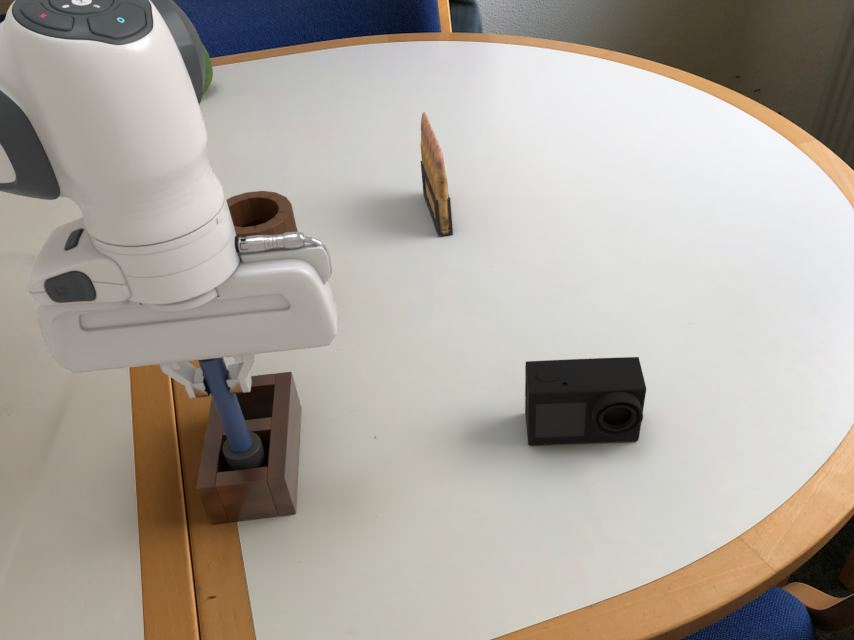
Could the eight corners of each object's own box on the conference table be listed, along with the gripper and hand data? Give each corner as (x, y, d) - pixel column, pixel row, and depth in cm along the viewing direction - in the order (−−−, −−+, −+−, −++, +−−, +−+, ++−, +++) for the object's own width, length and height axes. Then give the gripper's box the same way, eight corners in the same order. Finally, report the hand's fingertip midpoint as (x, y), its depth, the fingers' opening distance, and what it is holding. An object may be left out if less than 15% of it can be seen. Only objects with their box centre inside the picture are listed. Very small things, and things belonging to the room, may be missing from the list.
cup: (235, 328, 87) (206, 237, 79) (242, 283, 93) (216, 194, 85) (310, 320, 88) (289, 229, 80) (312, 276, 94) (292, 187, 86)
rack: (212, 524, 68) (195, 488, 65) (227, 416, 78) (214, 379, 74) (296, 514, 69) (284, 478, 65) (301, 407, 78) (291, 371, 75)
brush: (236, 501, 70) (184, 370, 59) (239, 473, 72) (190, 342, 61) (272, 497, 70) (228, 365, 59) (275, 469, 72) (232, 337, 61)
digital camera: (527, 456, 73) (528, 403, 68) (524, 412, 77) (524, 360, 72) (641, 451, 73) (649, 398, 68) (631, 408, 77) (639, 355, 72)
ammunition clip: (423, 193, 107) (415, 109, 99) (436, 191, 107) (429, 107, 99) (438, 237, 99) (431, 149, 91) (453, 234, 99) (447, 147, 91)
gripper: (325, 205, 56) (352, 349, 66) (28, 233, 55) (99, 376, 64) (323, 256, 52) (353, 403, 61) (-1, 288, 50) (81, 434, 60)
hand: (221, 389), depth 63 cm, fingers closed on brush, 2 cm apart
